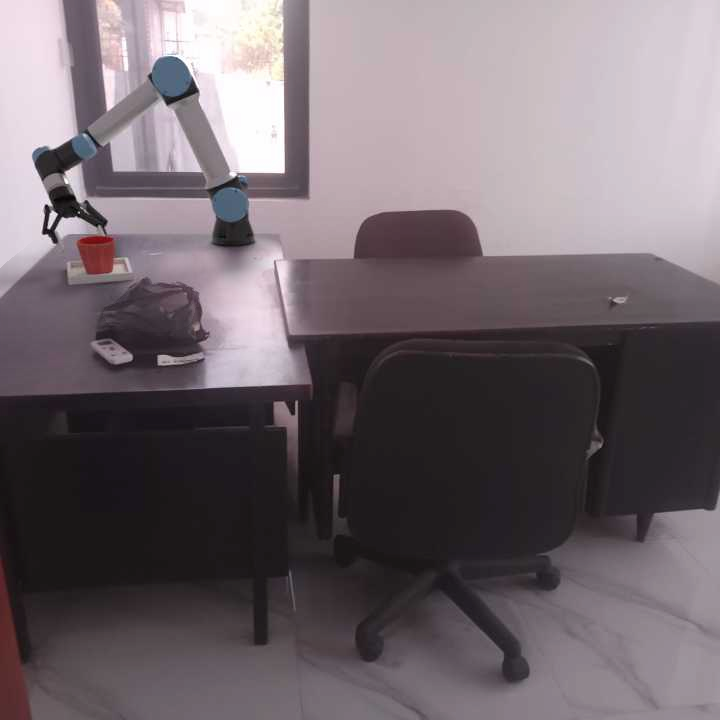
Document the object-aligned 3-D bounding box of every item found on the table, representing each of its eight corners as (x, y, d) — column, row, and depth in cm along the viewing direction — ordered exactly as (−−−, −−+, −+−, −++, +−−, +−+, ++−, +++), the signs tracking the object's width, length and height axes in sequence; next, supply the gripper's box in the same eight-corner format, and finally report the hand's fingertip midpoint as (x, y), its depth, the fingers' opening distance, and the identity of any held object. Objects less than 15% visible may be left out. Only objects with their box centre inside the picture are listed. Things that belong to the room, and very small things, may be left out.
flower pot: (111, 276, 220) (108, 244, 216) (75, 275, 220) (70, 243, 217) (123, 267, 230) (119, 236, 226) (87, 266, 230) (84, 235, 226)
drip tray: (128, 264, 236) (127, 257, 235) (133, 279, 221) (132, 272, 220) (67, 268, 230) (66, 261, 229) (68, 285, 215) (67, 277, 214)
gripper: (95, 194, 244) (120, 248, 240) (17, 203, 229) (42, 261, 224) (100, 180, 239) (126, 235, 234) (20, 188, 223) (45, 247, 219)
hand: (85, 248), depth 229 cm, fingers open, 13 cm apart
